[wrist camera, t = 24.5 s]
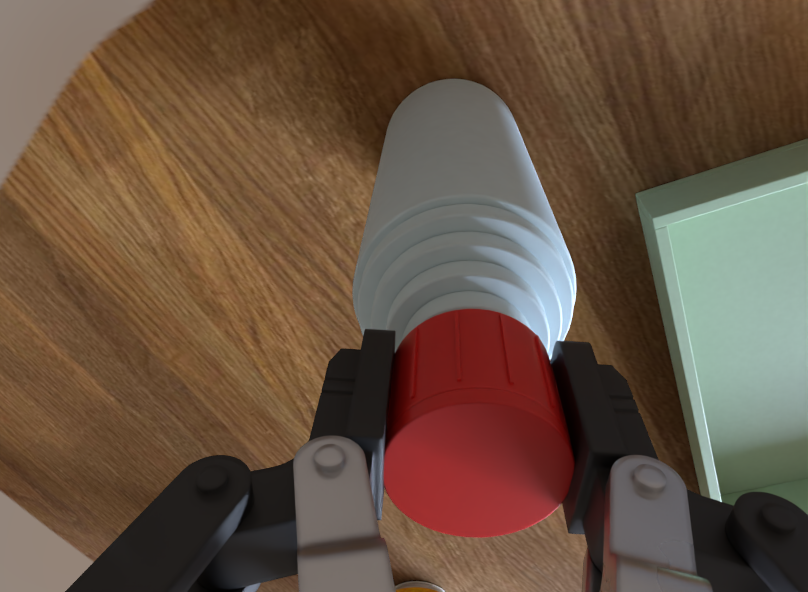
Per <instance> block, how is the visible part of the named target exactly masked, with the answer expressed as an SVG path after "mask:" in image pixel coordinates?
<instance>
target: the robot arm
mask: <svg viewBox="0 0 808 592" xmlns="http://www.w3.org/2000/svg"><path fill="white" fill-rule="evenodd" d="M395 335H396V332H395V331H394V330H377V329H365V331H364V336H363V341H362V346H361V350H357V349H340V350H339V352H338V353H337V354H336V355H335V356H334V357H333V358H332V359H331V360H330V361H329V364H328V368H327V371H326V375H325V380H324V383H323V387H322V393H321V395H320V399H319V403H318V407H317V411H316V415H315V419H314V423H313V427H312V431H311V435H310V439H309V441H308V442H307V443H306V444H304V445H303V446H302V447H301V448H300V449H299V450H298V452H297V453H296V455H295V458H294V459H292V460H290V461H288V462H286V463H284V464H282V465H279V466H275V467H271V468H266V469H261V470H255V471H250V470H249V468H248V466H247V465H246V464H245V463H244V462H242V461H241V460H239V459H237V458H235V457H231V456H225V455H216V456H210V457H206V458H203V459H200V460H198V461H196V462H194V463H192V464H190V465H189V466H187V467H186V468H185V469H184V470H183V471H182V472H181V473H180V474H179V475H178V476H177V477H176V478H175V479H174V480H173V481H172V482H171V483H170V484H169V485H168V486H167V487H166V488H165V489H164V490H163V491H162V492H161V493H160V494H159V496H158V497H157V498H156V499H155V500H154V501H153V502H152V503H151V504H150V505H149V506H148V507H147V508H146V509H145V510H144V511H143V512H142V513H141V514H140V515H139V516H138V517H137V518H136V519H135V520H134V521H133V522H132V523H131V524H130V525H129V526H128V527H127V529H126V530H125V531H124V532H123V533H122V534H121V535H120V536H119V537H118V538H117V539H116V540H115V541H114V542H113V543H112V544H111V545H110V546H109V547H108V548H107V549H106V550H105V551H104V552H103V553H102V554H101V555H100V556H99V557H98V558H97V559H96V560H95V562H94V563H93V564H92V565H91V566H90V567H89V568H88V569H87V570H86V571H85V572H84V573H83V574H82V575H81V576H80V577H79V578H78V579H77V580H76V581H75V582H74V583H73V584H72V585H71V586H70V587H69V588H68V589H67V590H66V591H65V592H256V591H257V589H258V587H259V586H260V584H261V583H262V582H267V581H271V580H275V579H279V578H283V577H287V576H291V575H295V574H298V582H299V592H396V590H395V585H394V580H393V575H392V570H391V565H390V559H389V554H388V549H387V545H386V542H385V539H384V538H381V537H380V533H379V528H378V522H377V520H381V515H382V505H383V495H384V452H385V441H386V432H387V422H388V412H389V403H390V393H391V384H392V374H393V365H394V356H395ZM551 367H552V368H553V372H554V376H555V380H556V384H557V388H558V392H559V396H560V400H561V404H562V408H563V412H564V416H565V420H566V424H567V428H568V432H569V436H570V442H571V446H572V450H573V454H574V459H575V467H574V472H573V476H572V480H571V484H570V487H569V491H568V494H567V497H566V498H565V500H564V501H563V502H562V504H563V509H564V514H565V519H566V524H567V528H568V533H571V534H585V537H586V541H587V545H588V547H587V550H586V554H585V557H584V562H583V578H582V592H808V515H807V514H806V513H805V512H804V511H803V510H802V509H801V508H799V507H798V506H796V505H795V504H793V503H792V502H790V501H788V500H786V499H784V498H782V497H780V496H777V495H774V494H770V493H766V492H748V493H745V494H743V495H741V496H740V497H739V498H738V499H737V500H736V502H735V504H734V506H733V505H730V504H727V503H724V502H721V501H717V500H714V499H711V498H708V497H705V496H702V495H699V494H696V493H694V492H692V491H690V490H688V489H686V486H685V484H684V481H683V480H682V478H681V477H680V476H679V475H678V474H677V472H676V471H674V470H673V469H672V468H671V467H669V466H668V465H666V464H665V463H663V462H661V461H659V459H658V457H657V454H656V452H655V450H654V447H653V445H652V442H651V440H650V437H649V435H648V432H647V430H646V427H645V425H644V422H643V420H642V417H641V415H640V413H638V407H637V405H636V402H635V400H633V395H632V392H631V390H630V388H629V385H628V383H627V380H626V379H625V378H624V377H623V376H622V375H621V374H620V373H619V372H618V371H617V370H616V369H615V368H614V367H613V366H612V365H599V364H598V363H597V361H596V358H595V355H594V352H593V349H592V346H591V344H590V343H589V342H573V341H556V342H555V345H554V349H553V353H552V358H551Z"/></svg>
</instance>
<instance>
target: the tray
mask: <svg viewBox="0 0 808 592" xmlns="http://www.w3.org/2000/svg"><path fill="white" fill-rule="evenodd" d="M635 196H636V201H637V205H638V210H639V214H640V219H641V224H642V228H643V233H644V237H645V242H646V246H647V251H648V255H649V260H650V265H651V269H652V274H653V278H654V283H655V287H656V292H657V297H658V301H659V306H660V310H661V315H662V319H663V324H664V329H665V333H666V338H667V342H668V347H669V351H670V356H671V361H672V365H673V370H674V374H675V379H676V383H677V388H678V393H679V397H680V402H681V406H682V411H683V415H684V420H685V425H686V429H687V434H688V438H689V443H690V447H691V452H692V457H693V461H694V466H695V470H696V475H697V479H698V484H699V489H700V493H701V495H702V496H705V497H708V498H711V499H714V500H717V501H721V502H724V503H727V504H730V505H733V506H734V504H735V502H736V500H737V499H738V498H739V497H740V496H741V495H743V494H745V493H748V492H766V493H770V494H774V495H777V496H780V497H782V498H784V499H786V500H788V501H790V502H792V503H793V504H795V505H796V506H798V507H799V508H801V509H802V510H803V511H804V512H805V513H806V514H807V515H808V138H807V139H804V140H801V141H798V142H795V143H792V144H789V145H785V146H782V147H779V148H776V149H773V150H770V151H767V152H764V153H760V154H757V155H754V156H751V157H748V158H745V159H742V160H739V161H735V162H732V163H729V164H726V165H723V166H720V167H717V168H714V169H710V170H707V171H704V172H701V173H698V174H695V175H692V176H689V177H685V178H682V179H679V180H676V181H673V182H670V183H667V184H664V185H660V186H657V187H654V188H651V189H648V190H645V191H642V192H639V193H636V194H635Z"/></svg>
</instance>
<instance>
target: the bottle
mask: <svg viewBox="0 0 808 592" xmlns="http://www.w3.org/2000/svg"><path fill="white" fill-rule="evenodd" d="M575 298H576V275H575V270H574V265H573V262H572V259H571V257H570V254H569V251H568V249H567V247H566V244H565V242H564V239H563V237H562V234H561V232H560V229H559V227H558V225H557V222H556V220H555V217H554V215H553V212H552V210H551V208H550V205H549V203H548V200H547V198H546V195H545V193H544V190H543V188H542V186H541V183H540V181H539V178H538V176H537V173H536V171H535V168H534V166H533V164H532V161H531V159H530V156H529V154H528V151H527V149H526V147H525V144H524V142H523V139H522V137H521V134H520V132H519V129H518V127H517V125H516V122H515V120H514V117H513V115H512V113H511V111H510V110H509V108H508V107H507V105H506V104H505V103H504V101H503V100H502V99H501V98H500V97H499V96H498V95H497V94H495V93H494V92H493V91H491V90H490V89H488V88H487V87H485V86H483V85H481V84H478V83H476V82H473V81H469V80H464V79H444V80H438V81H434V82H431V83H428V84H426V85H424V86H422V87H420V88H418V89H417V90H415V91H414V92H412V93H411V94H410V95H409V96H407V97H406V98H405V99H404V100H403V101H402V103H401V104H400V105H399V106H398V108H397V109H396V111H395V112H394V114H393V116H392V118H391V120H390V122H389V125H388V128H387V132H386V136H385V141H384V145H383V150H382V154H381V159H380V163H379V168H378V172H377V176H376V181H375V185H374V190H373V194H372V199H371V203H370V207H369V212H368V216H367V221H366V225H365V230H364V234H363V238H362V243H361V247H360V252H359V256H358V261H357V265H356V270H355V275H354V280H353V303H354V309H355V313H356V316H357V319H358V322H359V324H360V328H361V332H362V334H363V336H364V331H365V329H377V330H394V331H395V332H396V335H395V352H396V350H397V348H398V346H399V345H400V343H401V342H402V340H403V339H404V338H405V337H406V336H407V335H408V334H409V332H411V331H412V330H413V329H414V328H415V327H417V326H418V325H419V324H421V323H422V322H424V321H426V320H428V319H430V318H432V317H434V316H436V315H439V314H442V313H445V312H449V311H454V310H460V309H484V310H491V311H495V312H499V313H502V314H505V315H508V316H510V317H512V318H514V319H516V320H518V321H520V322H521V323H523V324H524V325H526V326H527V327H529V328H530V329H531V330H532V331H533V332H534V333H535V334H536V335H538V336H539V338H540V340H541V341H542V343H543V345H544V346H545V348H546V350H547V353H548V355H549V359H551V358H552V353H553V349H554V345H555V342H556V341H564V339H565V337H566V334H567V332H568V330H569V327H570V324H571V320H572V316H573V308H574V304H575Z"/></svg>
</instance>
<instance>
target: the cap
mask: <svg viewBox="0 0 808 592" xmlns="http://www.w3.org/2000/svg"><path fill="white" fill-rule="evenodd" d="M574 467H575V459H574V454H573V450H572V446H571V442H570V436H569V432H568V428H567V424H566V420H565V416H564V412H563V408H562V404H561V400H560V396H559V392H558V388H557V384H556V380H555V376H554V372H553V368H552V367H551V363H550V359H549V355H548V353H547V350H546V348H545V346H544V345H543V343H542V341H541V340H540V338H539V336H538V335H536V334H535V333H534V332H533V331H532V330H531V329H530V328H529V327H527V326H526V325H524V324H523V323H521V322H520V321H518V320H516V319H514V318H512V317H510V316H508V315H505V314H502V313H499V312H495V311H491V310H484V309H460V310H454V311H449V312H445V313H442V314H439V315H436V316H434V317H432V318H430V319H428V320H426V321H424V322H422V323H421V324H419V325H418V326H417V327H415V328H414V329H413V330H412V331H411V332H409V334H408V335H407V336H406V337H405V338H404V339H403V340H402V342H401V343H400V345H399V346H398V348H397V350H396V352H395V356H394V365H393V374H392V384H391V393H390V403H389V412H388V422H387V432H386V441H385V452H384V487H385V490H386V492H387V494H388V496H389V497H390V499H391V500H392V502H393V503H394V504H395V505H396V506H397V508H398V509H399V510H400V511H402V512H403V513H404V514H405V515H406V516H408V517H409V518H411V519H412V520H414V521H415V522H417V523H419V524H421V525H423V526H425V527H427V528H430V529H432V530H435V531H438V532H441V533H445V534H450V535H455V536H462V537H493V536H500V535H505V534H509V533H513V532H517V531H520V530H522V529H525V528H527V527H530V526H532V525H534V524H536V523H538V522H539V521H541V520H543V519H544V518H546V517H547V516H549V515H550V514H551V513H553V512H554V511H555V510H556V509H557V508H558V507H559V506H560V505H561V503H562V502H563V501H564V500H565V498H566V497H567V494H568V491H569V487H570V484H571V480H572V476H573V472H574Z"/></svg>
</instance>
